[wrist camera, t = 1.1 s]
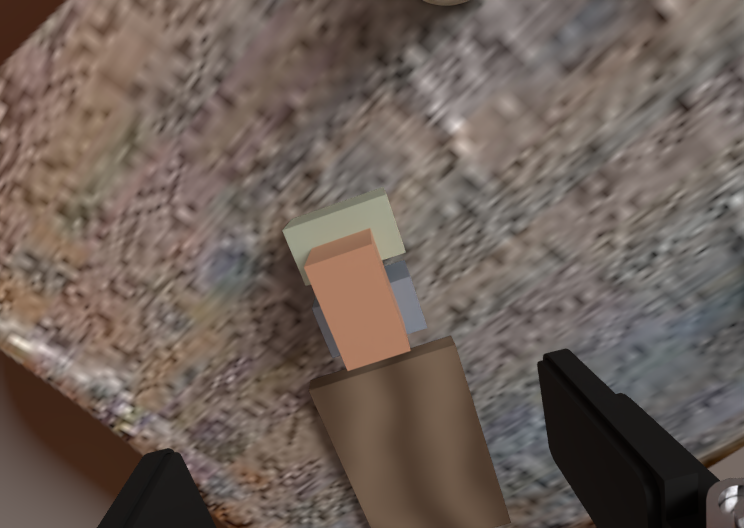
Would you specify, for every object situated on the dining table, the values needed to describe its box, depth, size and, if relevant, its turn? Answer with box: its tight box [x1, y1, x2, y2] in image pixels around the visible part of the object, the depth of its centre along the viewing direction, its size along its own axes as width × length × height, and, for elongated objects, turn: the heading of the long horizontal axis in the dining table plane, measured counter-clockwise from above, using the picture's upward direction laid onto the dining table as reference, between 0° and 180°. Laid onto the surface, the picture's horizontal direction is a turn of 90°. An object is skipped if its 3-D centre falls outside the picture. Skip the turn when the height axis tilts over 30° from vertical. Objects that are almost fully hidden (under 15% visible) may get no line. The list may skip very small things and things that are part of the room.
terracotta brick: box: [304, 228, 411, 371], centre depth 25 cm, size 7×4×4 cm, turn 20°
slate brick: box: [312, 260, 427, 358], centre depth 30 cm, size 7×4×4 cm, turn 109°
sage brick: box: [282, 187, 405, 286], centre depth 28 cm, size 7×4×4 cm, turn 109°
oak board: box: [309, 336, 511, 528], centre depth 35 cm, size 12×19×2 cm, turn 19°
